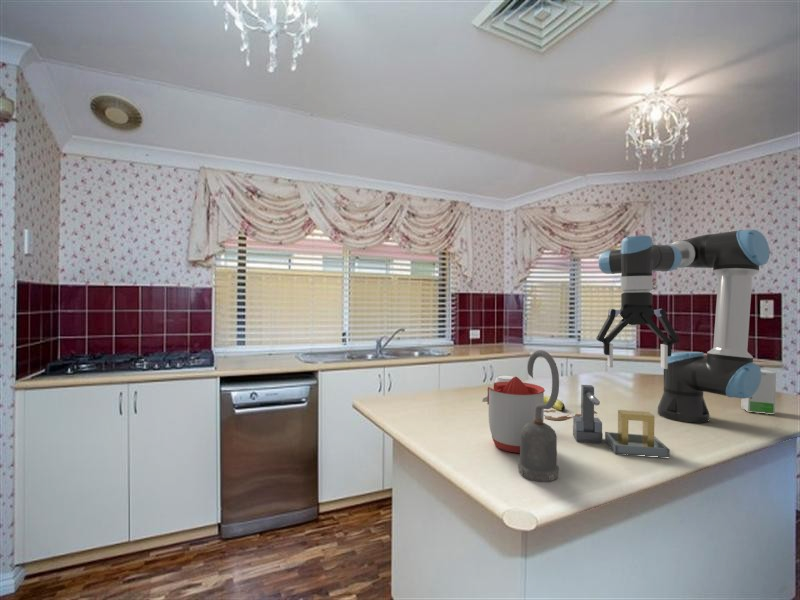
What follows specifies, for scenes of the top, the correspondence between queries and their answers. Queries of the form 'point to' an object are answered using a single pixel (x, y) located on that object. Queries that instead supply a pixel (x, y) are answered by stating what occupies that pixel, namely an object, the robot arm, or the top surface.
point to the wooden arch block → (638, 416)
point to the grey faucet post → (587, 418)
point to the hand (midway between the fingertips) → (636, 367)
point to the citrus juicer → (512, 411)
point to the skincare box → (762, 395)
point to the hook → (540, 434)
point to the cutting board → (559, 407)
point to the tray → (636, 446)
